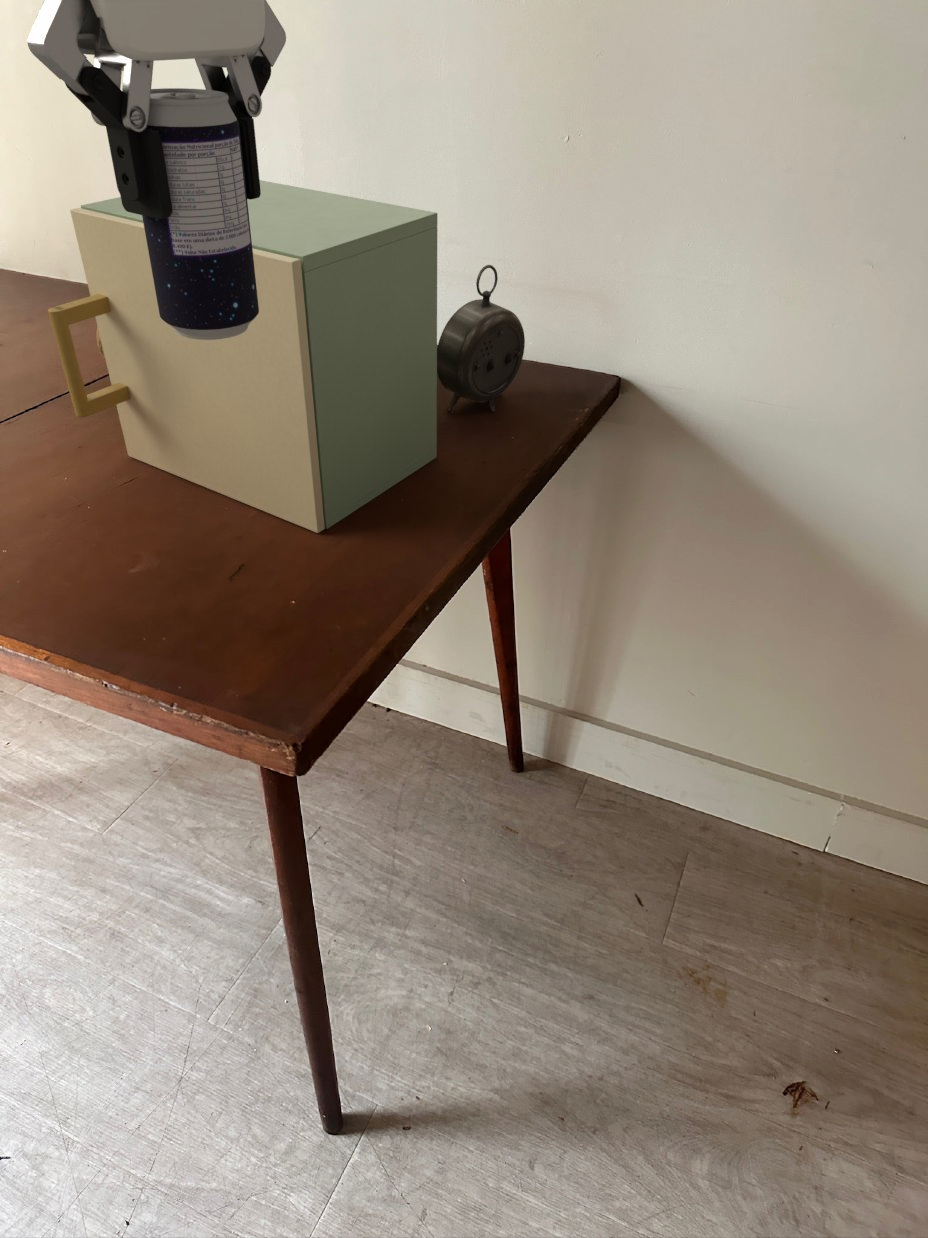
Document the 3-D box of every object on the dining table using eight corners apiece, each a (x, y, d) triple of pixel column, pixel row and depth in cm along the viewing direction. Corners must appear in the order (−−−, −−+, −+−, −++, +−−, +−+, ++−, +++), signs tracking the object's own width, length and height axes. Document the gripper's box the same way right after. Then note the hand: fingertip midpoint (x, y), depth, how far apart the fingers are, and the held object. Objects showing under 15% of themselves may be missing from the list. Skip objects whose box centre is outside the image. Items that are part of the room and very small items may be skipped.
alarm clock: (497, 387, 108) (503, 251, 98) (528, 400, 105) (539, 261, 95) (432, 411, 102) (433, 269, 92) (464, 426, 99) (468, 280, 89)
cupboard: (326, 529, 81) (303, 256, 66) (137, 453, 92) (80, 205, 77) (436, 457, 93) (437, 212, 78) (257, 397, 104) (227, 173, 89)
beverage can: (272, 316, 54) (249, 90, 46) (244, 347, 49) (214, 102, 42) (183, 309, 54) (147, 84, 47) (147, 340, 49) (101, 96, 42)
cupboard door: (274, 561, 76) (237, 279, 61) (82, 477, 87) (11, 221, 73) (325, 529, 81) (301, 258, 66) (135, 452, 92) (79, 207, 77)
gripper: (217, -220, 44) (256, 173, 55) (-125, -300, 32) (10, 220, 43) (330, -229, 41) (348, 190, 52) (-4, -321, 29) (109, 246, 40)
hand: (194, 200), depth 47 cm, fingers closed on beverage can, 5 cm apart
